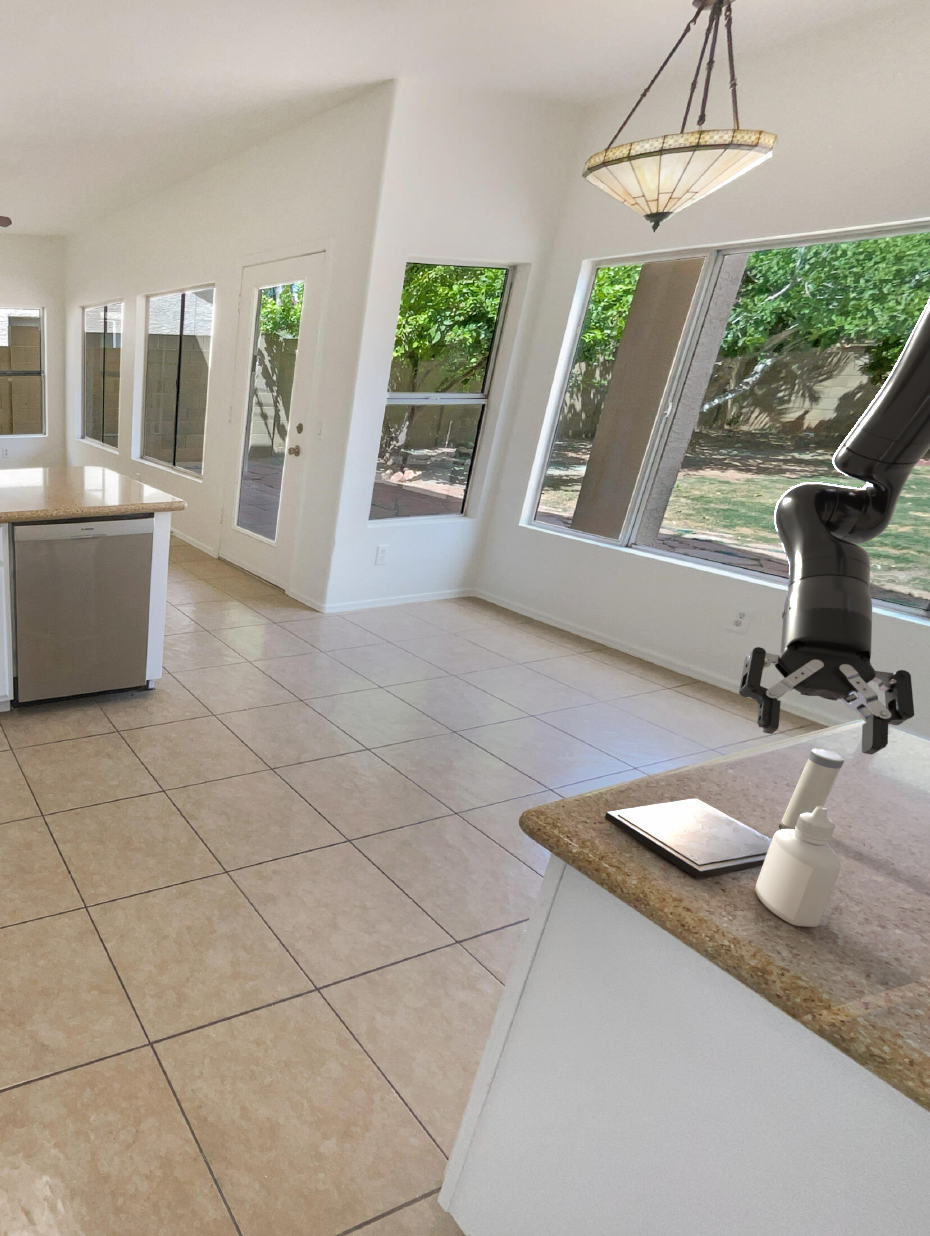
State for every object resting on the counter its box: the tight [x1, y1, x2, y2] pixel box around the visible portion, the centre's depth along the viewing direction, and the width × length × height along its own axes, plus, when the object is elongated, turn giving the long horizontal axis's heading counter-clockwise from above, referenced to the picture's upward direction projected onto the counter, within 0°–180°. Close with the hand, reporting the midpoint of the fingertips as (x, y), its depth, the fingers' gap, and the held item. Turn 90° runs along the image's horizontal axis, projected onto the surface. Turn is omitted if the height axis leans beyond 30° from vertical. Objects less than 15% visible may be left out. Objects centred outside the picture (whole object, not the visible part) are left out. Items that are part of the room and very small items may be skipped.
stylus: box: [778, 748, 845, 830], centre depth 80 cm, size 3×3×11 cm
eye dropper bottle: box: [754, 806, 842, 928], centre depth 68 cm, size 4×6×12 cm
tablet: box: [604, 798, 773, 880], centre depth 80 cm, size 14×11×1 cm
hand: (819, 741), depth 80 cm, fingers open, 8 cm apart
